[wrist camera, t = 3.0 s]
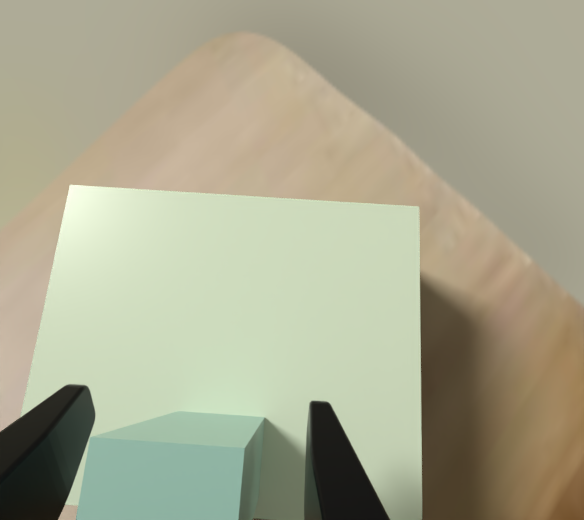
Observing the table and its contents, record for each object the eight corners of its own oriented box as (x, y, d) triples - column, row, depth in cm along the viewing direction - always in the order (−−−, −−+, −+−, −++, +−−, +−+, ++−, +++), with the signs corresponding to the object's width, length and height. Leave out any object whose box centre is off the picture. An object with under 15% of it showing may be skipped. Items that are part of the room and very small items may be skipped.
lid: (411, 518, 12) (538, 665, 6) (24, 490, 12) (-245, 604, 6) (410, 217, 15) (500, 98, 8) (84, 197, 15) (-67, 64, 9)
